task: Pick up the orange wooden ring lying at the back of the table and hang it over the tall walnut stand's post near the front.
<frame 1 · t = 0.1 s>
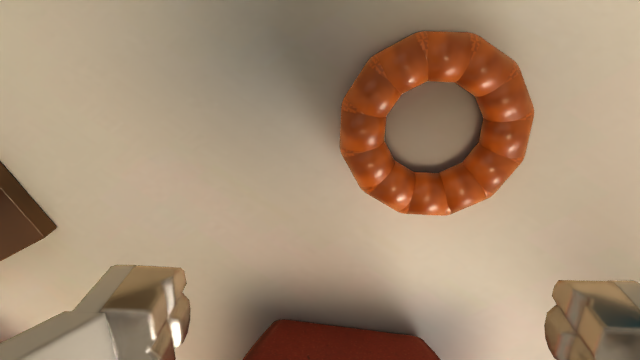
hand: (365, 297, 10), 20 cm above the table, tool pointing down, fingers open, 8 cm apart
ring: (433, 129, 27), point 1 cm above the table
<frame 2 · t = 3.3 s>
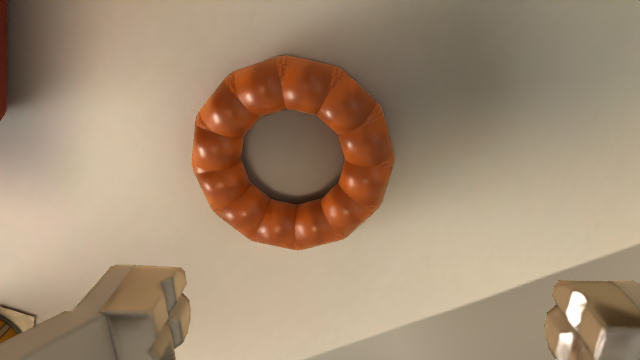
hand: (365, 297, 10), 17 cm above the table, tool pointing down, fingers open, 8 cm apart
ring: (292, 159, 25), point 1 cm above the table
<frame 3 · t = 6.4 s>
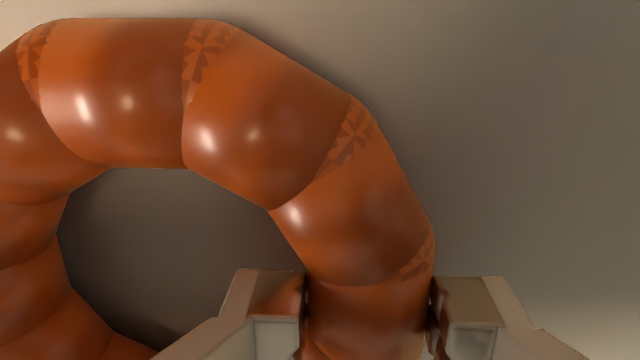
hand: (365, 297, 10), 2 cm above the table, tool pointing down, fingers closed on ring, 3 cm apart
ring: (177, 283, 10), point 1 cm above the table, touching gripper
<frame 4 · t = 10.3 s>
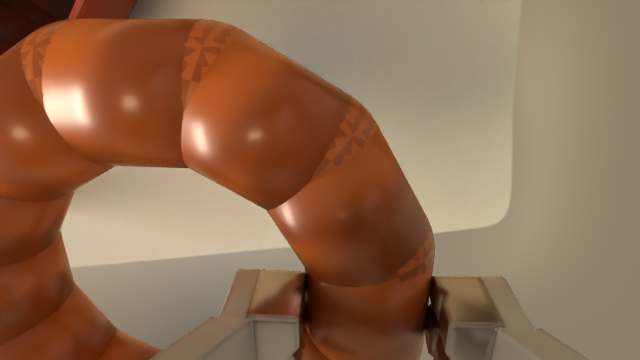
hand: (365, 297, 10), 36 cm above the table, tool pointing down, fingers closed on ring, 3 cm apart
ring: (178, 281, 10), point 36 cm above the table, touching gripper
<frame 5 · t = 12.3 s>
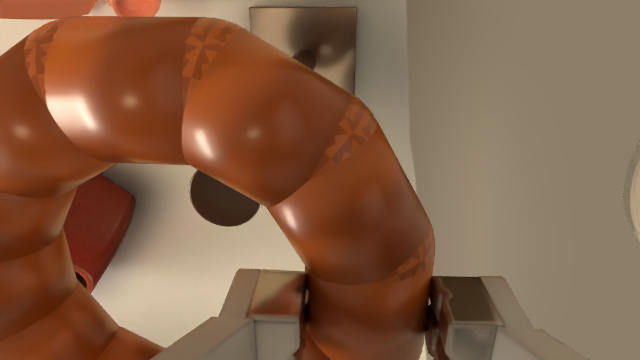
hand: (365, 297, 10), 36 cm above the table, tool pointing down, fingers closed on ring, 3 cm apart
flower pot: (68, 204, 51), on the table
stand: (304, 60, 43), on the table
ring: (179, 278, 10), point 36 cm above the table, touching gripper
when the fingers open (31 cm above the table, at t = 14.2 s): ring drops 26 cm, resting on stand.
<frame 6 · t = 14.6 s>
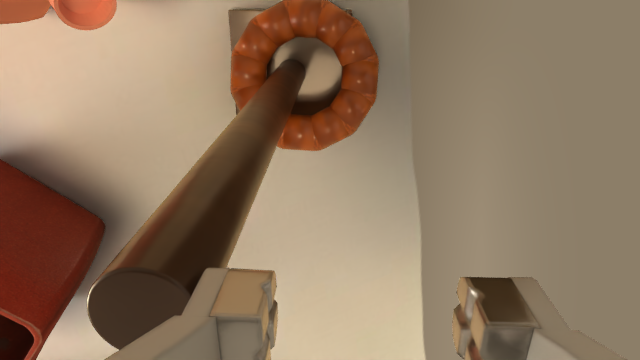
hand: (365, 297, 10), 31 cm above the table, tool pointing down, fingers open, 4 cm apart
flower pot: (30, 230, 46), on the table
stand: (293, 70, 38), on the table
ring: (303, 76, 34), point 4 cm above the table, tilted 17°, touching stand
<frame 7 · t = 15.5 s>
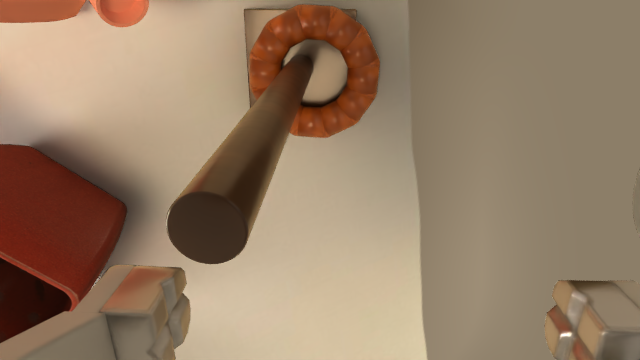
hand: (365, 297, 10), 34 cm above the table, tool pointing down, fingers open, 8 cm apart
flower pot: (57, 213, 49), on the table
stand: (302, 65, 41), on the table
ring: (313, 74, 39), point 3 cm above the table, touching stand
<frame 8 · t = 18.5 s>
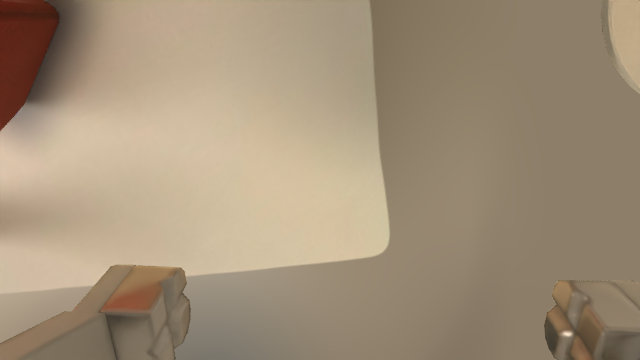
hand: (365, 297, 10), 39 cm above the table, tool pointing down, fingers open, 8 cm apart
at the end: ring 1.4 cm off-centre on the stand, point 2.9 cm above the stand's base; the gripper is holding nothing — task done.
